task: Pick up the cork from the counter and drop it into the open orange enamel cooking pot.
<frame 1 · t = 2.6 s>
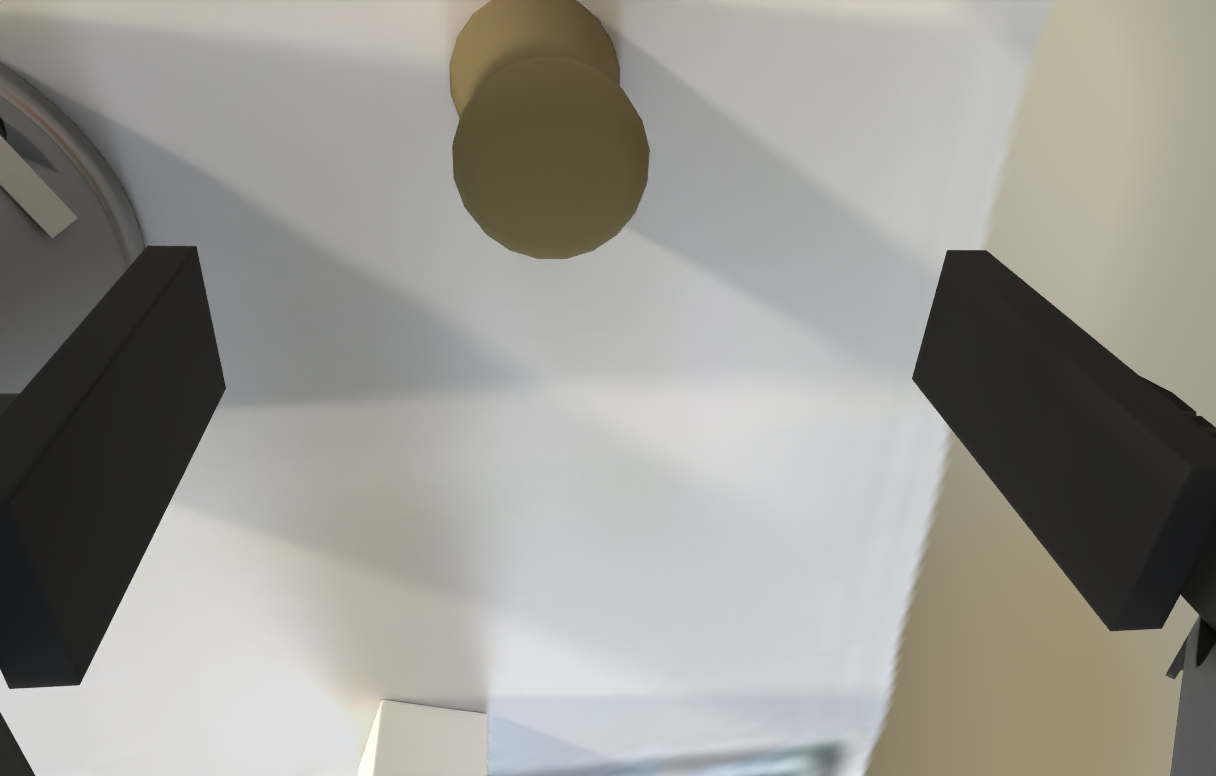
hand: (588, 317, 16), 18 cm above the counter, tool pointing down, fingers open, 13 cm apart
milk: (423, 737, 49), on the counter
cork: (535, 80, 31), on the counter
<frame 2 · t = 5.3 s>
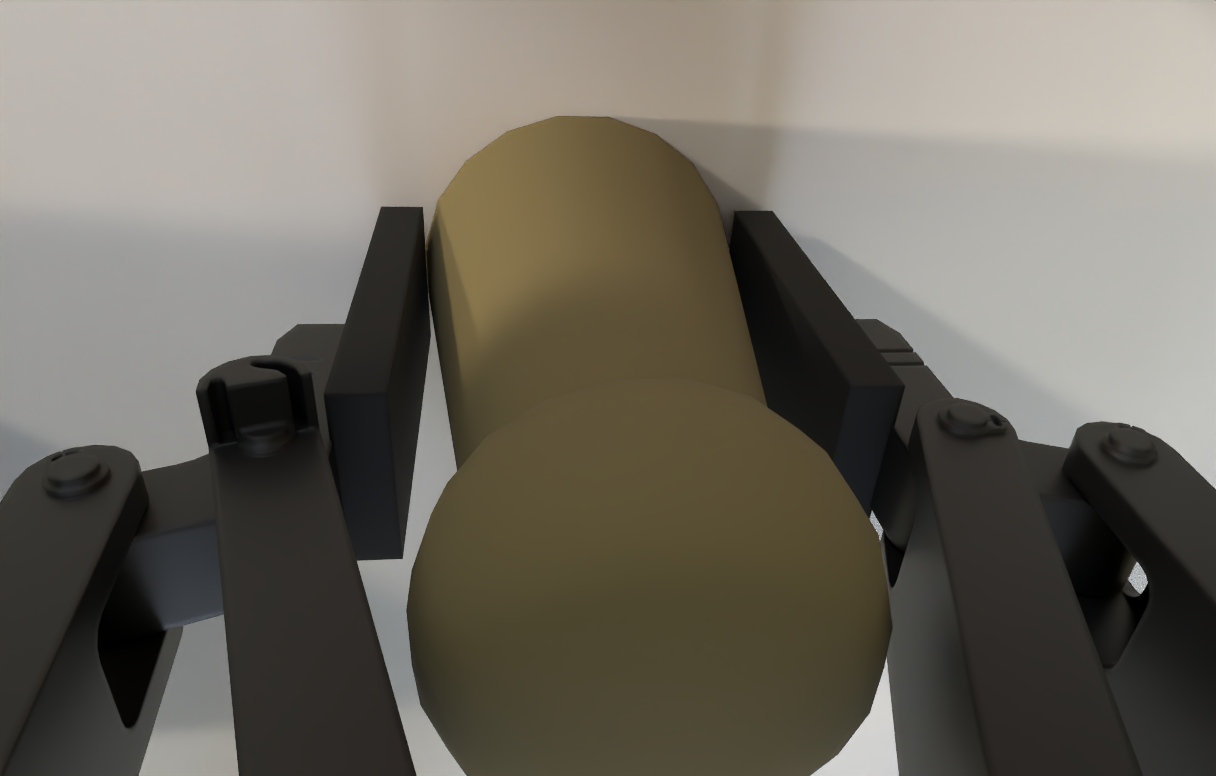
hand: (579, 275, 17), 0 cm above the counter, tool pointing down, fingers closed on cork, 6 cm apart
cork: (577, 263, 18), on the counter, touching gripper
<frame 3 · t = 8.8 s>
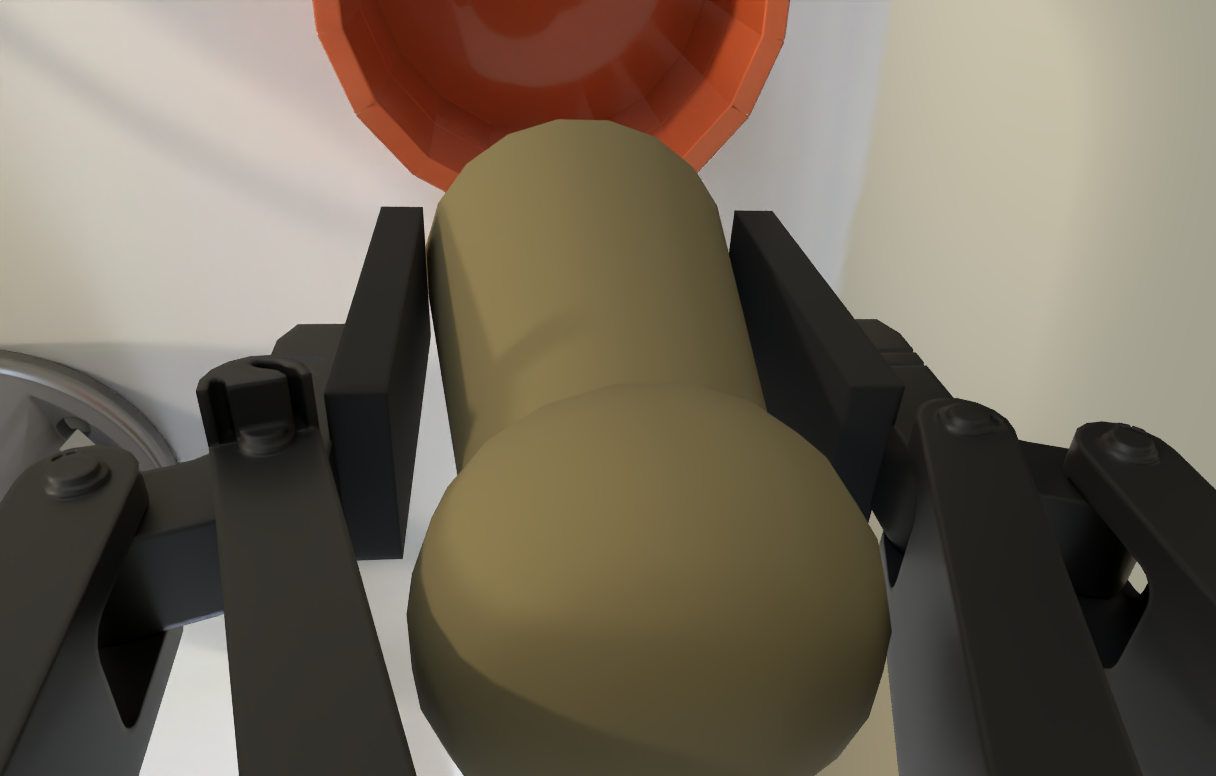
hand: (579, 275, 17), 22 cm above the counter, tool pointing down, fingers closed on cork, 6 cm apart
cork: (577, 266, 18), point 21 cm above the counter, touching gripper
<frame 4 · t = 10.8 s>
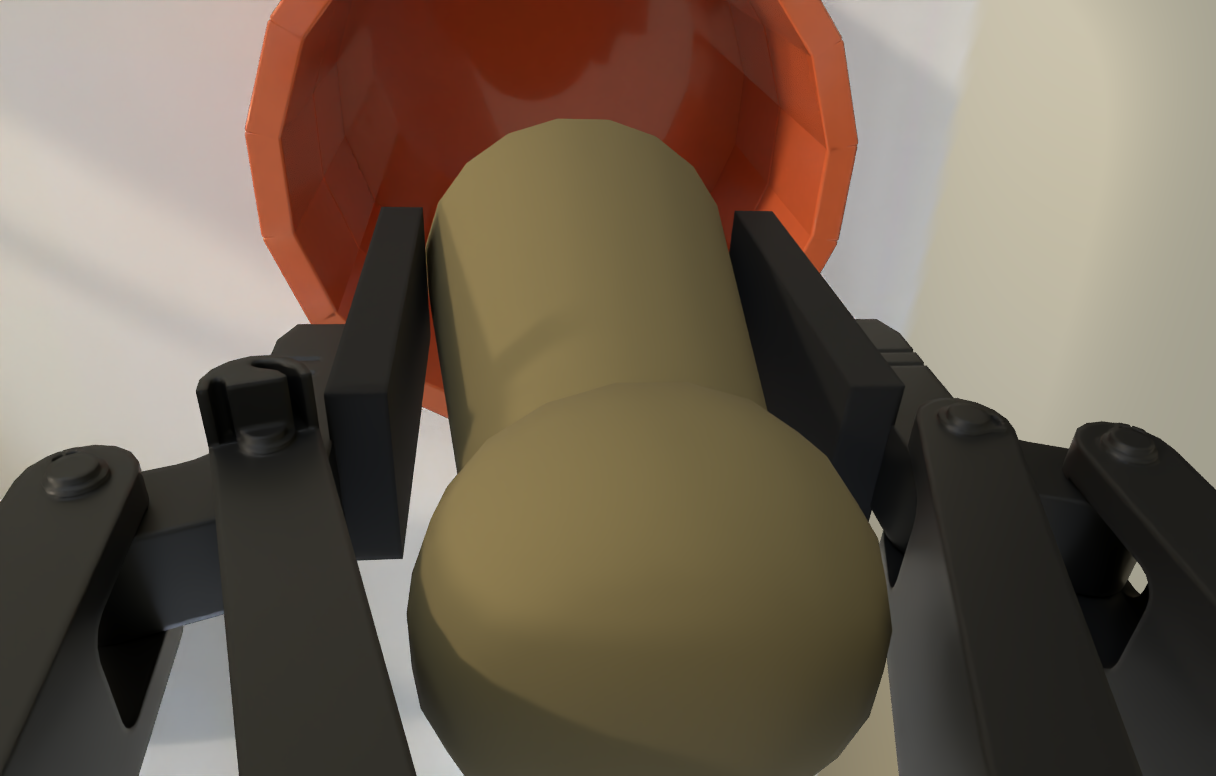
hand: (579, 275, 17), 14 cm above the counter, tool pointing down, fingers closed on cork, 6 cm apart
cork: (577, 265, 18), point 13 cm above the counter, touching gripper
pot: (544, 100, 29), on the counter
when the fingers open (10 cm above the counter, at t = 12.4 s): cork drops 9 cm, resting on pot.
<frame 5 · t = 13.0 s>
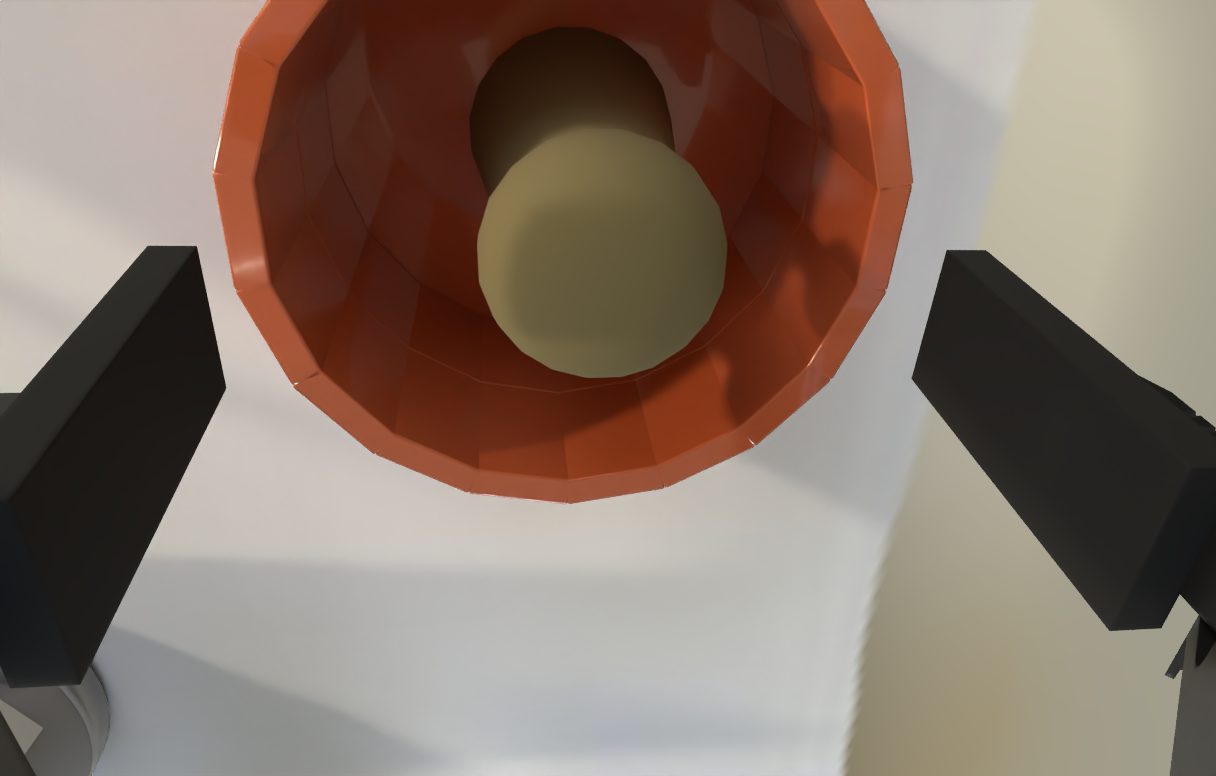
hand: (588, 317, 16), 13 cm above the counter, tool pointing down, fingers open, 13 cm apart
cork: (570, 131, 26), resting on pot
pot: (554, 123, 26), on the counter
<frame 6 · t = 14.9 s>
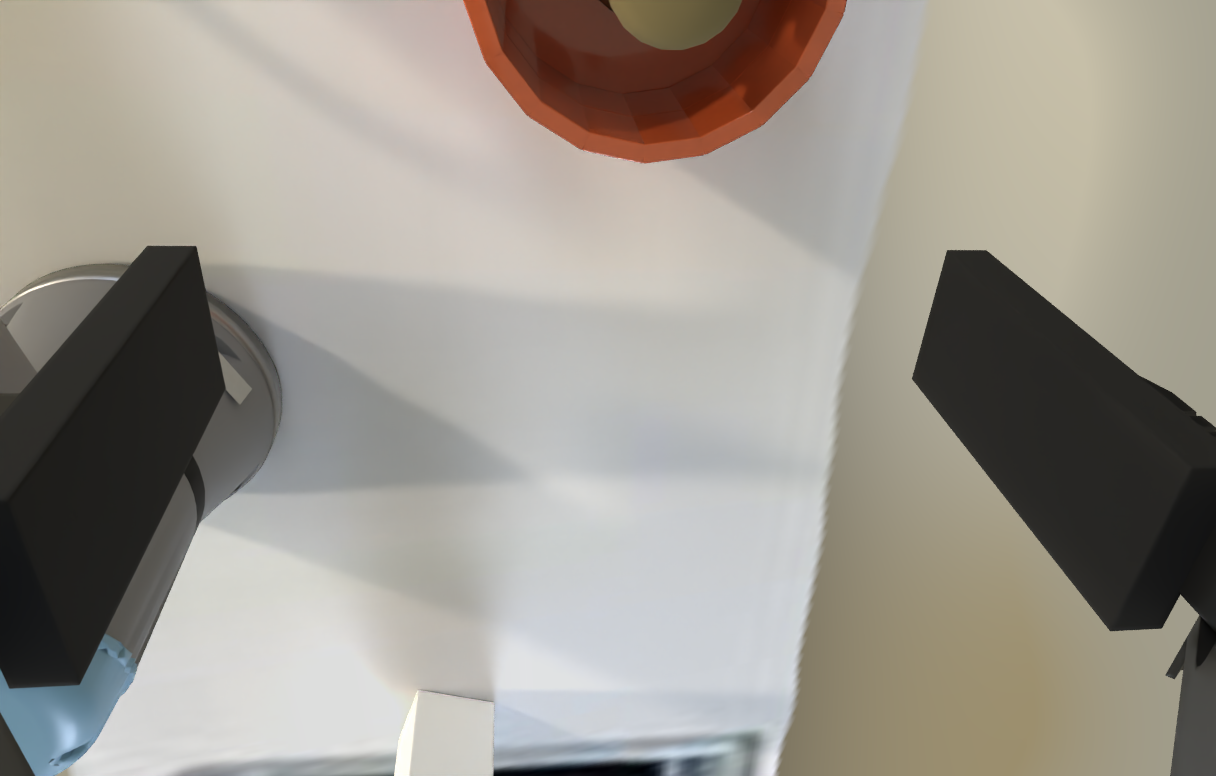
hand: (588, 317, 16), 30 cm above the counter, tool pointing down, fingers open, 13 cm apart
milk: (446, 718, 67), on the counter
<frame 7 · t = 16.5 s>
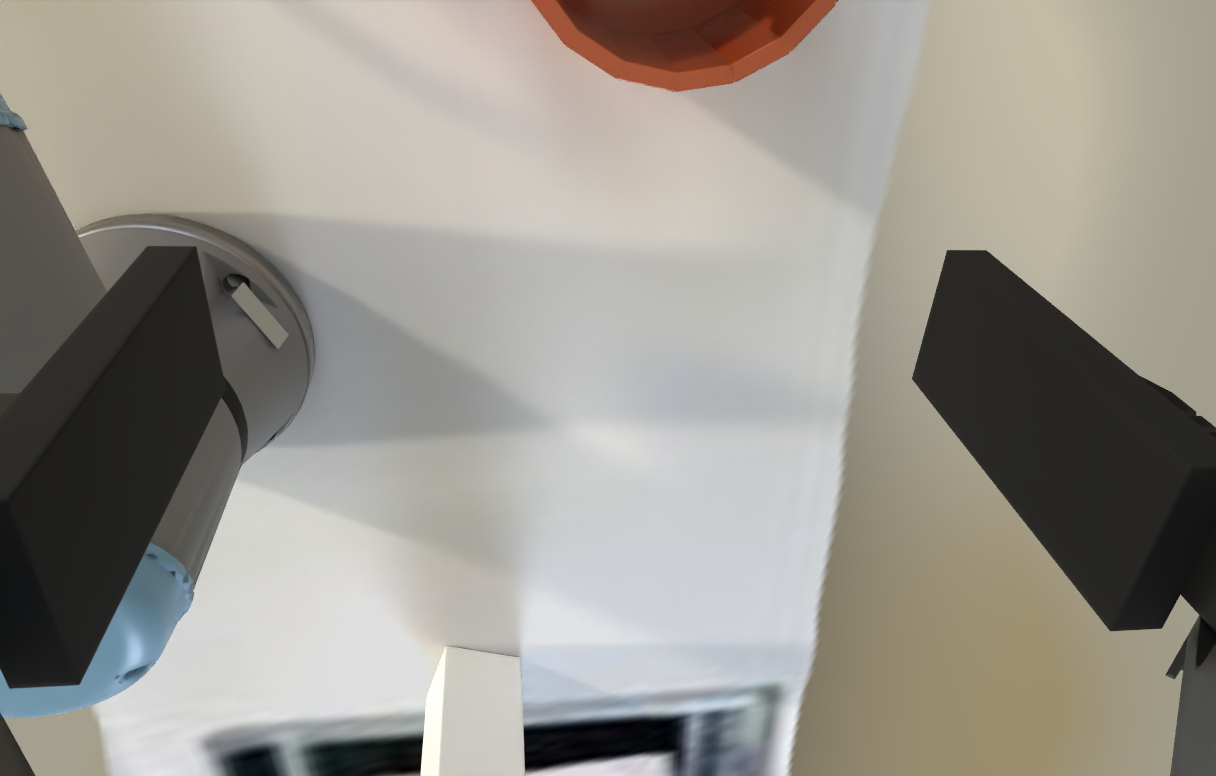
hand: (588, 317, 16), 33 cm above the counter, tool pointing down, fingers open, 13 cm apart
milk: (473, 674, 68), on the counter
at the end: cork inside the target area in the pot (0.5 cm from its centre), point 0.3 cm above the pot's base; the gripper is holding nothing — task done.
